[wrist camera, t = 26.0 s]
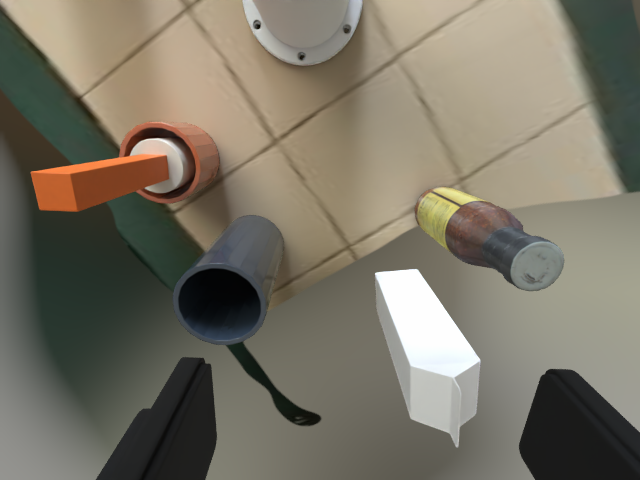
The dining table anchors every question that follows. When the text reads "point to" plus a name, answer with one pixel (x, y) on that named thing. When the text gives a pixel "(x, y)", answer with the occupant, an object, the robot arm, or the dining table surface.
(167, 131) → the brush holder
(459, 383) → the milk
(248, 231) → the dark blue cylindrical vase
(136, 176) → the brush
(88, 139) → the dining table surface
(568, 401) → the robot arm
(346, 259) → the dining table surface
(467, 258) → the sauce bottle
